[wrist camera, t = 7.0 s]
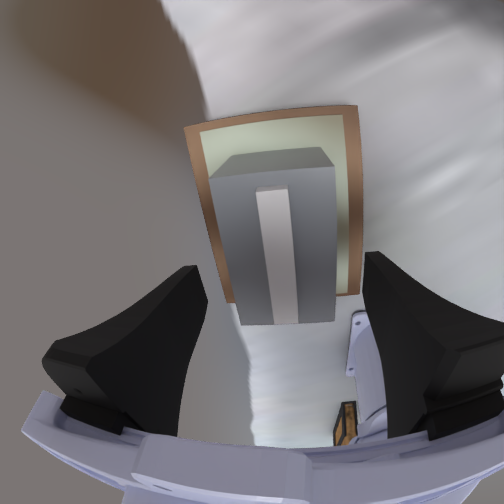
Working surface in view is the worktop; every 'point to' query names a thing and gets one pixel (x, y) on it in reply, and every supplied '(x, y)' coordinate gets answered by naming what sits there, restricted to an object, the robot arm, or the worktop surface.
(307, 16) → the worktop surface
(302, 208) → the grey box
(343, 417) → the ammunition clip
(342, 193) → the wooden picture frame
